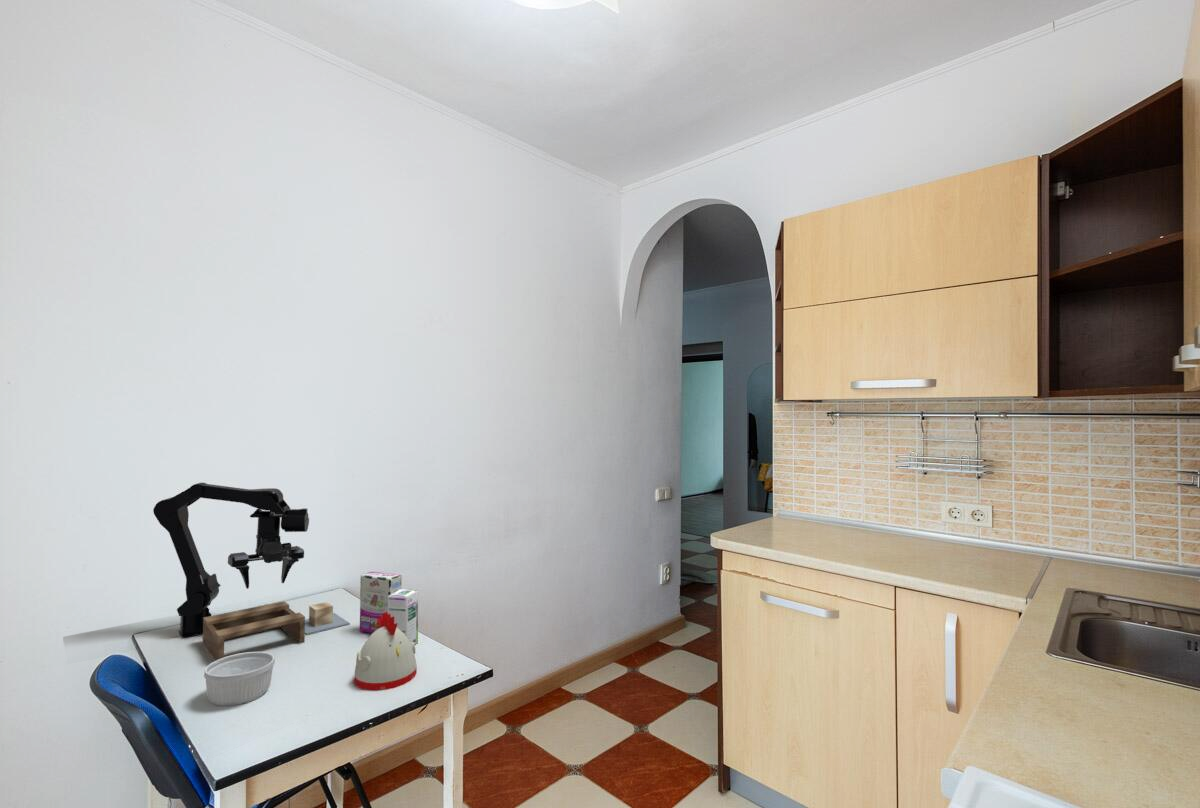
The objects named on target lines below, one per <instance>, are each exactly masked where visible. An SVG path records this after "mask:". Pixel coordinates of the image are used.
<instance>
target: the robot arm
mask: <svg viewBox="0 0 1200 808" xmlns="http://www.w3.org/2000/svg"><path fill="white" fill-rule="evenodd" d="M199 499H208V500H215V501H225V502H232V503H241V504H245V505H248V506H250V507H252V508H256V509H255V511H253V513H251V514H250V515H249V517H250V518H251V519H253V518H257V527H256V528H257V529H256V532H257V533H256V535H255V537H256V548H255V554H247V553H246V552H243V551H242V552H234V553H230V554H229V555H228V557H227V565H229V566H230V567H232V568H235V569H236V570H239V573H240V574H241V577H242V580H243V583H244V585H245V588H246V589H249V588H250V575H249V574H250V573H249V571H250V566H249V563H250V562H255V561H263V562H264V563H266V564H270V563H271V564H272V563H275V562H282V566H281V574H280V575H281V576H280V579H281V581H280V582H281V584H284V583H285V581H286V579H287V577H288V574H289V572H290V570H291V568H292V567H293V566H294V564H295V563H296V562H299V561H300V559H304V558H305V550H304V548H301V546H297V545H295V546H294V545H293V546H292V542H284V543H282V542H281V536H280V533H281V532H280V531H281V529H282V531H284V532H285V533H301V532H302V533H303V532H304V533H306V532H308V529H309V525H310V518H309V513H308V508H305V507H304V508H291V506H289V504H288V503H287V502H286V501H285V499H284V493H283V492H282V491H281V490H280V489H279V488H276V487H275V488H274V487H273V488H272V487H271V488H255V489H254V488H253V489H249V488H242V487H241V488H240V487H233V486H228V485H227V486H225V485H218V484H210V483H206V482H198V483H195V484H192V485H191V486H190V487H188V488H187V489H185V490H183V491H182V492H180V493H178V494H176V495H174V496H171V497H168V498H164V499H162V500H159V501H158V502H157V503H156V504H155V505H154V507H153V510H152V512H153V514H154V517H155V518H156V520H157V522H158V523H159V525H161V526H162V527H163V528H164V529H165V530H166V531H167V532H168V534H169V537H170V538H171V539H170V540H171V541H172V544H173V547H174V549H175V553H176V555H177V558H178V560H179V563H180V565H181V568H182V570H183V574H184V575H185V576H184V577H185V579H186V580H185V581H186V582H185V594H186V595H185V596H186V600H185V601H184V602H183V603H182V604H181V605H180V606H178V608H177V609H176V612H177V613H178V616H179V618H180V623H179V624H180V627H179V630H178V634H179V635H180V637H181V638H183V639H185V638H191V637H194V636H198V635H203V618H204V617H209V616H212V613H211V612H210V608H209V606H210V605H211V604H212V602H213V601H214V599H216V598H217V597H218V595H219V593H220V587H221V584H220V583H219V582H218V579H217V578H218V577H217V573H212V574H209V573H208V572H207V571H206V569H205V568H204V567H205V566H204V564H203V562H202V559H201V557H200V553H199V551H198V548H197V546H196V543H195V541H194V538H193V535H192V533H191V530H190V527H189V518H190V517H189V508H188V507H190V506H191V505H193V504H194V503H196V502H197V501H198V500H199Z"/></svg>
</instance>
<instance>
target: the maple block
mask: <svg viewBox="0 0 1200 808" xmlns="http://www.w3.org/2000/svg"><path fill="white" fill-rule="evenodd" d="M308 607H309V608H308V619H309V623H310V624H311V625H313V626H314V627H318V626H322V625H326V624H330V623H333V613H334V605H332V604H331V603H329V602H328V601H326V602H320V603H315V604H311V605H309V606H308Z"/></svg>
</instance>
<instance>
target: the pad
mask: <svg viewBox="0 0 1200 808" xmlns="http://www.w3.org/2000/svg"><path fill="white" fill-rule="evenodd" d="M348 625H350V622H349V621H348V620H345V619H344V618H343V617H341V616H340V615H338V614H337V613H335V612H333V623H330V624H326V625H322V626H318V627H314V626H313V625H311V624H310V623H309V618H305V636H310V635H312V634H317V633H321V632H325V631H330V630H332V629H333V630H334V629H337V628H340V627H345V626H348Z"/></svg>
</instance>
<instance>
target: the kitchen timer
mask: <svg viewBox="0 0 1200 808" xmlns="http://www.w3.org/2000/svg"><path fill="white" fill-rule="evenodd" d="M377 622H378V628H379V629H377V630H376V631H375V632H374V633H373V634H370V635H369V637H368V638H367V639H366V641H365V643H364V644H363V645H362V647H361V650H360V651H357V653H356V661H355V663H356V664H355V666H354V667H355V668H354V679H353V680H354V684H355V686H356V687H358V688H360V689H362V690H367V691H383V690H384V691H385V690H389V689H395V688H398V687H401V686H403V685H406V684H407V683H409V682H411V681H412V680H413V679H414V678H415V677H416V675H417V670H418V669H417V668H418V667H417V660H416V656H415V654H416V647H415V645H416V644H415V645H414V642H411V643H410V641H409V639H408V638H407V637H406V635H405V634H404V633H403V632H402V631H401V630H399V629H398V628H397V623H395V624H394V616H393V617H391V615H390V614H388V613H387V612H385V613H383V615H382V616H380V619H377Z"/></svg>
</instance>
